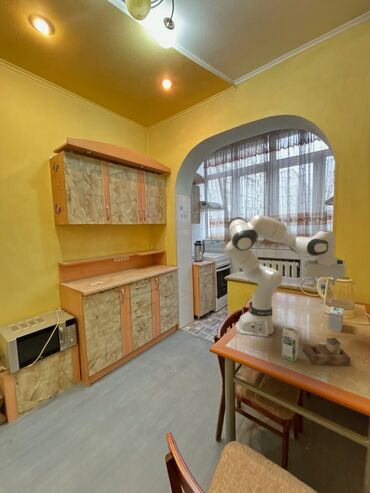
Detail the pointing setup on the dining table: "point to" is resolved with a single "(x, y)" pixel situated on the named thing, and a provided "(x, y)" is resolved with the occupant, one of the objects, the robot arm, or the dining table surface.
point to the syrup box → (290, 343)
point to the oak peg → (333, 346)
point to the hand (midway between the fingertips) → (323, 284)
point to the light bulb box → (335, 319)
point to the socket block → (324, 355)
